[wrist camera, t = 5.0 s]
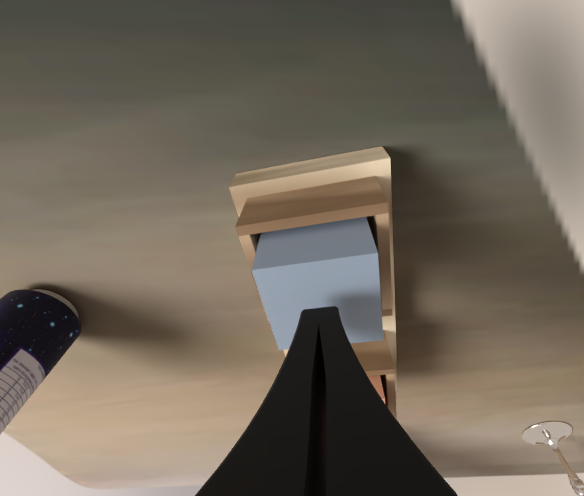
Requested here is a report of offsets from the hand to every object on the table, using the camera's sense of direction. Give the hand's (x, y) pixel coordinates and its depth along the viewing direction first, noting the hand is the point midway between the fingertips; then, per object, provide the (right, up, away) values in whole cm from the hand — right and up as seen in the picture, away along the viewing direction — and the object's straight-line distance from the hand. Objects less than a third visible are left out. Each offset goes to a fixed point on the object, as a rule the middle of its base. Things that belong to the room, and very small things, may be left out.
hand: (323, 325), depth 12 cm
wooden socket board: (+2, 0, +10) cm, 10 cm away
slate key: (0, +2, +3) cm, 4 cm away
